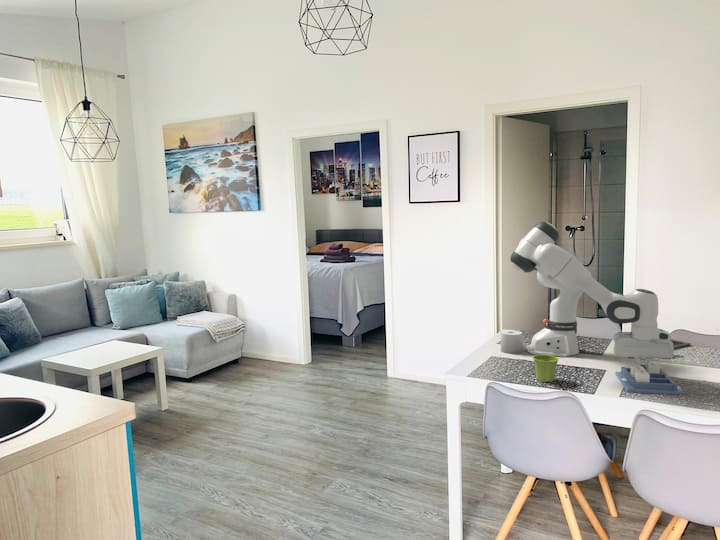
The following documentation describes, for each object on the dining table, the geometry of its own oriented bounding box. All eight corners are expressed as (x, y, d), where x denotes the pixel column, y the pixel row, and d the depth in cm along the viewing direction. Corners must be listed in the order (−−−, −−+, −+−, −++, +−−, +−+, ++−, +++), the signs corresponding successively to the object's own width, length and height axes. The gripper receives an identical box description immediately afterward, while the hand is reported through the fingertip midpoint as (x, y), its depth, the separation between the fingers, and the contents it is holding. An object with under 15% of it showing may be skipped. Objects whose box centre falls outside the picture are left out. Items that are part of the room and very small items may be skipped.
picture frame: (626, 342, 271) (668, 351, 252) (626, 337, 270) (669, 347, 252) (647, 337, 278) (690, 346, 260) (648, 333, 278) (690, 342, 260)
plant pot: (537, 374, 222) (538, 353, 221) (561, 379, 216) (562, 356, 215) (528, 380, 215) (528, 358, 214) (552, 385, 209) (553, 362, 208)
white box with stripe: (647, 376, 212) (648, 364, 211) (645, 373, 216) (645, 361, 215) (659, 377, 211) (660, 365, 210) (656, 374, 215) (657, 362, 214)
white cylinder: (530, 349, 259) (531, 331, 258) (513, 354, 251) (513, 335, 250) (513, 345, 266) (514, 327, 265) (496, 351, 257) (496, 332, 256)
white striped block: (636, 386, 202) (637, 373, 201) (634, 382, 205) (634, 370, 205) (649, 386, 201) (649, 374, 200) (646, 383, 204) (646, 370, 204)
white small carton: (632, 381, 207) (633, 368, 207) (630, 377, 211) (630, 365, 211) (644, 381, 206) (645, 369, 206) (641, 378, 210) (642, 365, 210)
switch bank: (627, 391, 201) (627, 382, 200) (615, 374, 220) (615, 366, 219) (683, 394, 196) (684, 385, 196) (666, 377, 216) (666, 368, 215)
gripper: (615, 333, 211) (614, 369, 213) (676, 335, 206) (674, 372, 208) (612, 329, 217) (611, 364, 219) (671, 331, 212) (669, 367, 214)
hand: (642, 368), depth 213 cm, fingers closed
